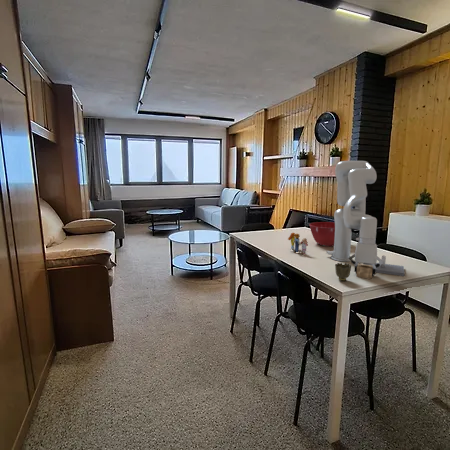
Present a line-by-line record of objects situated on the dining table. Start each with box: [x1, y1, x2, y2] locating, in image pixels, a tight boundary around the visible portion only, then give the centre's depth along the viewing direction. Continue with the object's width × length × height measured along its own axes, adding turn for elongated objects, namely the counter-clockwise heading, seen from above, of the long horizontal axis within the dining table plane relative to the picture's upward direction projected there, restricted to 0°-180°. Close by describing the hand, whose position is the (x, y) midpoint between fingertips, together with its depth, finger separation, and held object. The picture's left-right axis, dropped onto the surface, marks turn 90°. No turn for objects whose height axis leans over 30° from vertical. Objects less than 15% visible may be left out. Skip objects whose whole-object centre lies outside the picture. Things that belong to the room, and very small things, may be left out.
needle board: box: [362, 255, 405, 277], centre depth 160 cm, size 20×14×8 cm
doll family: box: [287, 232, 309, 255], centre depth 198 cm, size 21×10×13 cm, turn 7°
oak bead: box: [355, 263, 373, 280], centre depth 150 cm, size 7×7×5 cm
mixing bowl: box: [309, 221, 335, 247], centre depth 219 cm, size 28×28×16 cm
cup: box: [334, 262, 352, 282], centre depth 143 cm, size 8×7×8 cm
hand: (364, 274), depth 150 cm, fingers closed on oak bead, 7 cm apart
